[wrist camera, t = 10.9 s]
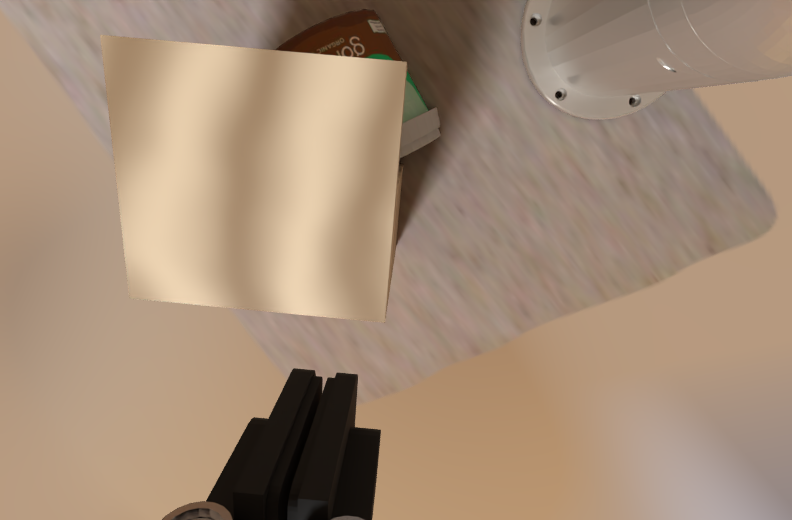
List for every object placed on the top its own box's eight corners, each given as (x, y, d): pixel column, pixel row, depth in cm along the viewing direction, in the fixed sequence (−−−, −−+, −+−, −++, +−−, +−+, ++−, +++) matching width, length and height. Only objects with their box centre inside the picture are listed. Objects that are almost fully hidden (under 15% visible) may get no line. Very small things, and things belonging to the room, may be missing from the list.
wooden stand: (410, 85, 34) (406, 61, 20) (396, 246, 38) (384, 322, 24) (231, 69, 34) (100, 35, 20) (235, 231, 38) (129, 298, 24)
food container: (389, -22, 27) (453, 134, 29) (394, 3, 32) (446, 131, 35) (218, 71, 29) (291, 209, 31) (251, 79, 34) (311, 195, 37)
